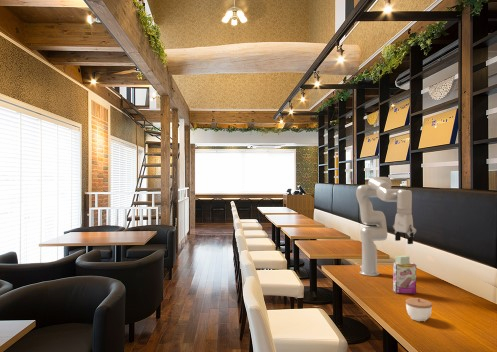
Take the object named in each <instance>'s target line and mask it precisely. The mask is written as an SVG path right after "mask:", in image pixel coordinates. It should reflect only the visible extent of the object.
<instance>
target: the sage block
mask: <svg viewBox="0 0 497 352" xmlns="http://www.w3.org/2000/svg"><path fill="white" fill-rule="evenodd" d="M395 262H396V263H397V264H400V265H403V264H410V263H411V262H410V256H408V255H405V254H404V255H395Z"/></svg>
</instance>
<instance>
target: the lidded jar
mask: <svg viewBox="0 0 497 352" xmlns="http://www.w3.org/2000/svg"><path fill="white" fill-rule="evenodd" d="M405 308H406V312H407V314H408V316H409V317H410V319H411V320H412V321H416V322H420V321H424V322H427V320H428V319H429V318H430V317H431V315H432V309H433V303H432V302H431V301H429V300H427V299H424V298H420V297H410V298H409V297H408V298H406V299H405Z"/></svg>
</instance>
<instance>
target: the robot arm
mask: <svg viewBox="0 0 497 352" xmlns="http://www.w3.org/2000/svg"><path fill="white" fill-rule="evenodd" d="M392 183H393V182H392V180H391V178H390V177H387V176H373V177H370V178H369V179H368V181H367V184H361V185H358V187H357V188H356V191H355V196H356V200H357V202H358V206H359V214H360V220H361V223H362V224H363V225H366V226H365V227H362V228H361V229H360V234H359V235H360V238H361V239H360V240H361V263H362V264H361V265H360V266H359V268H360V269H361V270H360V271H359V274H360V275H363V276H367V277H368V276H369V277H377V276H380V272H379V271H378V247H377V245H376V244H375V242H378V241H381V242H384V241H386V240H387V238H388V228H387V220H386V219H387V218H386V215H385V214H384V212H383V211H381V210H374V209H373V208H374V207H373V202H371V200H370V199H369V198H378V199H380V200H381V201H383V202H386V203H391V202H392V203H393V202H394V203H396V214H395V217H394V224H393V225H392V228H393V231H394V236H395V237H394V241H395V242H400V241H401V237H402V236H401V233H404V234H406V235H407V242H406V243H407V245H413V244H414V237H415V235H416V233H417V228H415V227H414V221H413V219H414V218H413V215H412V212H413V211H412V210H413V209H412V207H413V206H412V204H413V203H412V202H413V199H412V198H413V197H412V196H413V193H412V190H410V189H409V190H408V189H403V188H392V185H393V184H392ZM367 225H369V226H367ZM370 225H371V226H370ZM372 225H373V226H372ZM374 225H376V226H374Z"/></svg>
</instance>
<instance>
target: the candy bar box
mask: <svg viewBox="0 0 497 352" xmlns="http://www.w3.org/2000/svg"><path fill="white" fill-rule="evenodd" d="M392 265H393V269H392V272H393V274H392V277H393V278H392V279H393V281H392V282H393V283H392V285H393V286H392V291H393V292H394V293H395V294H403V295H404V294H405V295H408V294H409V295H416V294H417V264H415V263H414V262H410V264H403V265H400V264H397V263H396V261H395V262H393V264H392Z"/></svg>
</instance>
